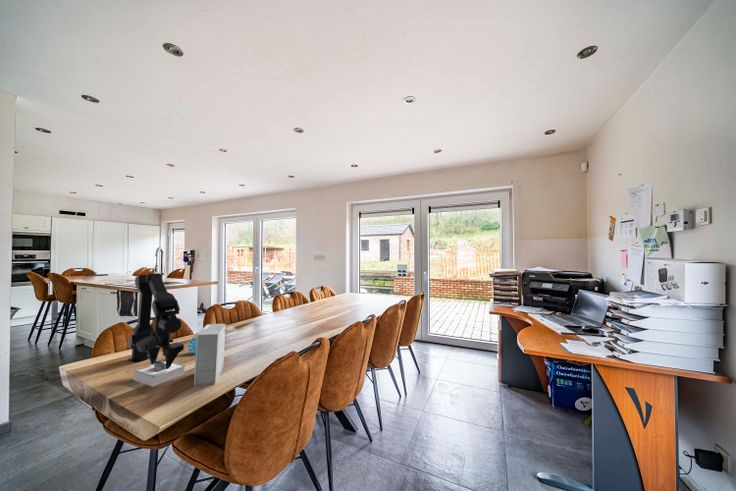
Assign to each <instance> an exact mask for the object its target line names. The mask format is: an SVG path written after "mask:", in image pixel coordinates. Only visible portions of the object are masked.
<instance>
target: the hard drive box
mask: <svg viewBox="0 0 736 491" xmlns="http://www.w3.org/2000/svg"><path fill="white" fill-rule="evenodd" d="M196 340H197V343H196V350H195V351H196V352H195V362H194V363H195V364H194V375H193V377H194V378H193V386H194V387H198V386H199V387H200V386H208V385H209V386H210V385H215V384H216V383H217V381H218V379H219V376H221V373H222V372H223V369H224V366H225V365H224V362H225V342H226V341H225V340H226V323H209V324H206V325H205V326H204V327H203V328H202V329H201V330H200V331H199V332H198V333H197V335H196Z"/></svg>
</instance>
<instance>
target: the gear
mask: <svg viewBox="0 0 736 491" xmlns="http://www.w3.org/2000/svg"><path fill="white" fill-rule="evenodd" d="M188 343H189V344H187V348H188V352H191V351H192V352H191V354H193V355H196V343H197V336H194V337H192V339H190V340H189V341H188Z"/></svg>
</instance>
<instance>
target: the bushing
mask: <svg viewBox="0 0 736 491" xmlns="http://www.w3.org/2000/svg"><path fill="white" fill-rule="evenodd" d="M153 365H154V371H155V372H159V371H162V370H164V369H166V364H165V359H158V360H156V361H155V362H154V363H153Z"/></svg>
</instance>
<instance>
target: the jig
mask: <svg viewBox="0 0 736 491" xmlns="http://www.w3.org/2000/svg"><path fill="white" fill-rule="evenodd" d="M185 366H186V365H185V364H182V363H178V362H175V361H173V363H172V364H171V366H170V368H169V369H164V370H162V371H159V372H155V371H154V365H152V364H150V365H148V366H145V367H141V368H138V369H135V370H133V375H132V377H133V378H132V380H133V381H135V382H138V383H141V384H143V385H147V386H149V387H155V386H157V385H160V384H163V383H165V382H167V381H170V380H173V379H176V378H178V377H180V376H183V375H185V369H186V368H185Z"/></svg>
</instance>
